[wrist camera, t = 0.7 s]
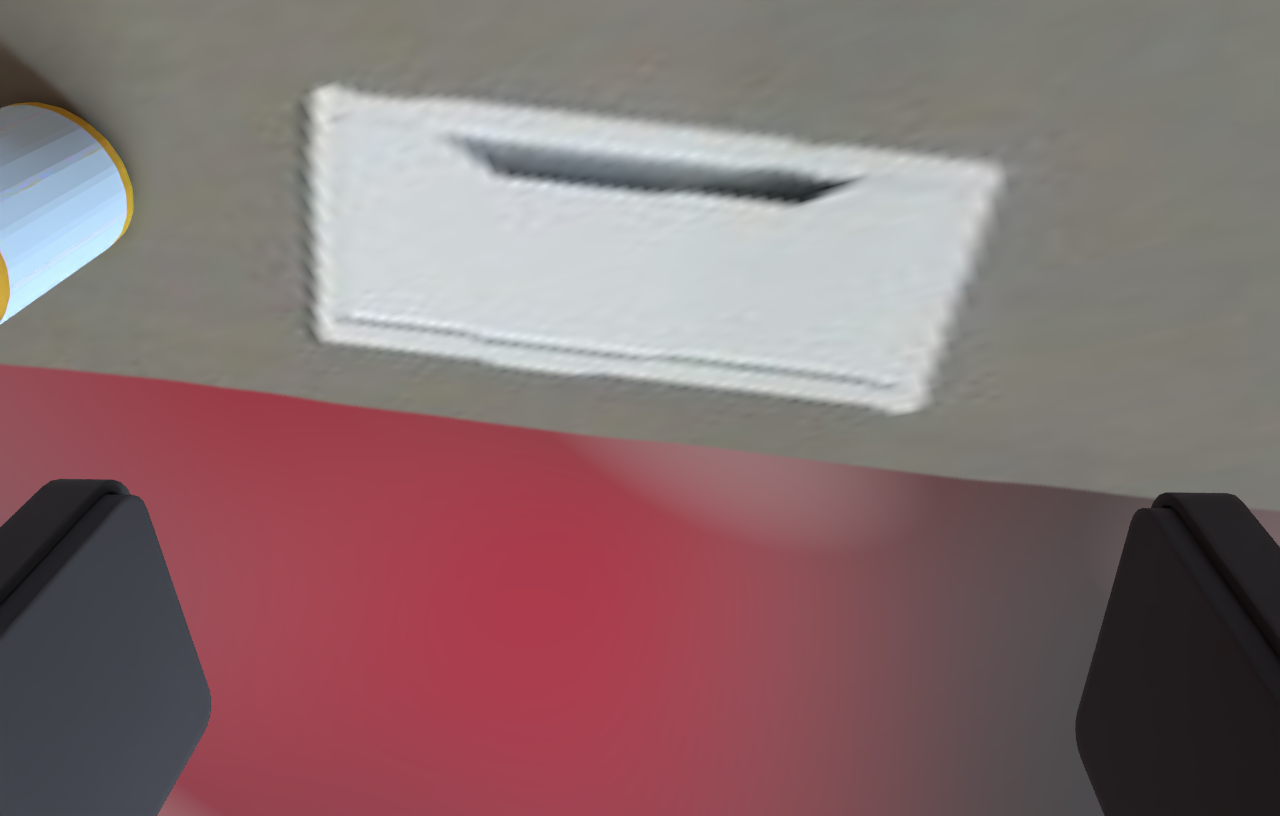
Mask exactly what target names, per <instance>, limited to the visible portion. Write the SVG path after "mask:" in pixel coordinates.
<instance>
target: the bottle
mask: <svg viewBox="0 0 1280 816" xmlns="http://www.w3.org/2000/svg"><path fill="white" fill-rule="evenodd" d="M132 214H133V189H132V185H131V182H130V179H129V176H128V173H127V171H126V168H125V166H124V164H123V162H122V160H121V159H120V157H119V156H118V154H117V153H116V151H115V150H114V148H113V147H112V146H111V144H110V143H109V142H108V141H107V140H106V138H105V137H103V136H102V135H101V134H100V133H99V132H98V131H97V130H96V129H95V128H93V127H92V126H91V125H90V124H89V123H87V122H86V121H85V120H83V119H81V118H80V117H78V116H76V115H74V114H72V113H70V112H69V111H67V110H65V109H62V108H60V107H56V106H52V105H48V104H44V103H39V102H26V103H15V104H11V105H9V106H5V107H2V108H0V324H2V323H3V322H4V321H6V320H7V319H9V318H10V317H12V316H13V315H14V314H16V313H17V312H19V311H20V310H21V309H23V308H24V307H26V306H27V305H29V304H30V303H31V302H33V301H34V300H36V299H37V298H38V297H40V296H41V295H43V294H44V293H46V292H47V291H48V290H50V289H51V288H53V287H54V286H55V285H57V284H58V283H60V282H61V281H63V280H64V279H65V278H67V277H68V276H70V275H71V274H72V273H74V272H75V271H77V270H78V269H80V268H81V267H82V266H84V265H85V264H87V263H88V262H89V261H91V260H92V259H94V258H95V257H96V256H98V255H99V254H101V253H102V252H104V251H105V250H106V249H108V248H109V247H110V246H111V245H112V244H114V243H115V242H116V241H117V240H118V239H119V238H120V237H121V236H122V235H123V234H124V233H125V231H126V230H127V228H128V226H129V223H130V220H131V217H132Z"/></svg>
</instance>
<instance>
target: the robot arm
mask: <svg viewBox="0 0 1280 816" xmlns="http://www.w3.org/2000/svg"><path fill="white" fill-rule="evenodd" d="M210 712H211V695H210V690H209V687H208V684H207V681H206V679H205V676H204V673H203V670H202V667H201V664H200V661H199V658H198V655H197V652H196V649H195V647H194V644H193V641H192V638H191V635H190V632H189V629H188V626H187V623H186V620H185V617H184V615H183V612H182V609H181V606H180V603H179V600H178V597H177V594H176V591H175V588H174V586H173V583H172V580H171V577H170V574H169V571H168V568H167V565H166V562H165V559H164V556H163V554H162V551H161V548H160V545H159V542H158V539H157V536H156V534H155V530H154V527H153V525H152V522H151V519H150V516H149V513H148V510H147V508H146V506H145V504H144V502H143V500H141V499H140V498H139V497H138V496H135V495H130V493H129V491H128V489H127V488H126V487H125V486H124V485H123V484H122V483H121V482H118V481H115V480H92V479H85V480H84V479H59V480H53V481H50V482H49V483H47V484H46V485H44V486H43V487H42V488H41V489H40V490H39V491H38V492H37V493H36V494H34V496H32V497H31V498H30V499H29V500H28V501H27V502H26V503H25V504H24V505H23V506H22V507H21V508H20V509H19V510H18V511H17V512H16V513H15V514H14V515H13V516H12V517H11V518H10V519H9V520H8V521H7V522H6V523H5V524H3V525H2V526H1V527H0V816H157V815H158V813H159V811H160V809H161V808H162V806H163V804H164V802H165V800H166V799H167V797H168V795H169V793H170V792H171V790H172V788H173V786H174V785H175V783H176V781H177V779H178V777H179V776H180V774H181V772H182V771H183V769H184V767H185V765H186V764H187V762H188V760H189V758H190V756H191V755H192V753H193V751H194V749H195V748H196V746H197V744H198V742H199V740H200V739H201V737H202V735H203V733H204V731H205V729H206V727H207V725H208V721H209V718H210ZM1075 730H1076V741H1077V746H1078V750H1079V753H1080V756H1081V759H1082V762H1083V764H1084V767H1085V769H1086V771H1087V774H1088V776H1089V779H1090V781H1091V784H1092V786H1093V789H1094V791H1095V794H1096V796H1097V798H1098V801H1099V803H1100V806H1101V808H1102V811H1103V813H1104V815H1105V816H1280V547H1279V546H1278V545H1277V543H1276V542H1275V541H1274V540H1273V538H1272V537H1271V536H1270V535H1269V534H1268V532H1267V531H1266V530H1265V529H1264V527H1263V526H1262V525H1261V524H1260V523H1259V521H1258V520H1257V519H1256V518H1255V516H1254V515H1253V514H1252V513H1251V512H1250V510H1249V509H1248V508H1247V507H1246V505H1245V504H1244V503H1243V502H1242V501H1241V500H1240V499H1239V498H1238V497H1236V496H1235V495H1232V494H1228V493H1163V494H1161V495H1159V496H1158V497H1157V498H1156V500H1155V501H1154V502H1153V504H1152V507H1151V508H1142V509H1139V510H1137V512H1136V513H1135V514H1134V516H1133V518H1132V521H1131V523H1130V527H1129V531H1128V534H1127V538H1126V541H1125V545H1124V548H1123V552H1122V555H1121V559H1120V562H1119V566H1118V569H1117V573H1116V577H1115V580H1114V584H1113V587H1112V591H1111V594H1110V598H1109V601H1108V605H1107V609H1106V612H1105V616H1104V619H1103V623H1102V626H1101V630H1100V633H1099V637H1098V641H1097V644H1096V648H1095V651H1094V655H1093V658H1092V662H1091V666H1090V669H1089V673H1088V676H1087V680H1086V683H1085V687H1084V690H1083V694H1082V698H1081V701H1080V705H1079V708H1078V712H1077V717H1076V729H1075Z"/></svg>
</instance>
